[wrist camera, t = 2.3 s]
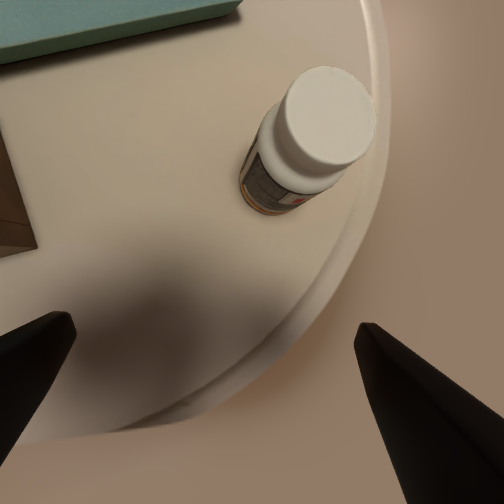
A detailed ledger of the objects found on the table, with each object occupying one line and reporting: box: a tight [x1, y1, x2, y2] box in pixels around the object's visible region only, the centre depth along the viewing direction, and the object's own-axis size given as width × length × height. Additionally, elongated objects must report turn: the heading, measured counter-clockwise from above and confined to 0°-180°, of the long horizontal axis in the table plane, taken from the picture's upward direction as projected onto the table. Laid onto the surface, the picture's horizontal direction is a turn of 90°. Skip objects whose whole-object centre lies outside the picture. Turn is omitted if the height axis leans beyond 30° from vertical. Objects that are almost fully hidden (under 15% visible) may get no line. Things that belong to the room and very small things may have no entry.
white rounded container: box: [240, 66, 376, 215], centre depth 16 cm, size 6×6×10 cm
